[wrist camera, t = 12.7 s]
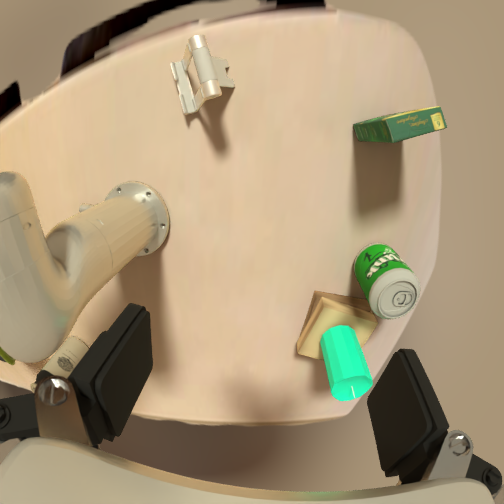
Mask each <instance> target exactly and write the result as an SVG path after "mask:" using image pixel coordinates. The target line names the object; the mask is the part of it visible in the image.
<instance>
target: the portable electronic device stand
mask: <svg viewBox="0 0 504 504" xmlns="http://www.w3.org/2000/svg"><path fill="white" fill-rule="evenodd" d="M192 56H193V59H194V63H195V66H196V70H197V73H198V77H199V80H200V84H201V86H200V87H199V89H198V91H197V93H196V95H195V97H194V95H193V91H192V88H191V84H190V81H189V77H188V73H187V70H188V67H189V64H190V61H191V58H192ZM170 64H171V68H172V71H173V75H174V79H175V81H176V84H177V87H178V91H179V97H180V101H181V104H182V108H183V112H184V114H185V115H189V114H193V113H196V112H198V110H199V109H200V107H201V106H202V104H203V103H204V102H205V101H206V100H209V99H213V98H216V97H219V96H221V95H222V92H221V89H220V87H231V88H233V87H235V84H234V81H233V79H231V78H228V76H227V73H226V70H225V68H228V67H229V64H228V61H227V60H226V59H222V58H217V57H212V56H211V55H210V51H209V48H208V44H207V41H206V38H205V36H204V35H196V36H193V37H191V38H190V39H189V40H188V43H187V46H186V50H185V54H184V57H183V59H182V61H180V62H176V63H174V62H171V63H170Z"/></svg>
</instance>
